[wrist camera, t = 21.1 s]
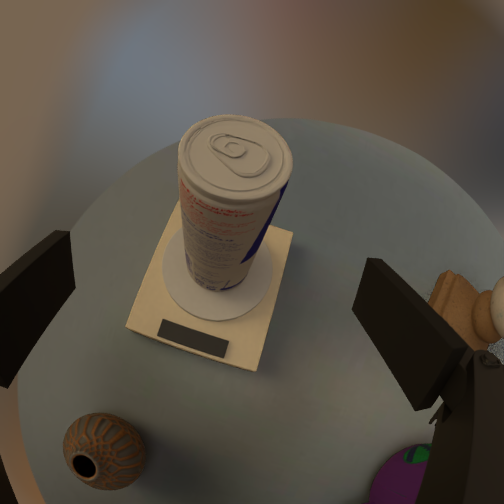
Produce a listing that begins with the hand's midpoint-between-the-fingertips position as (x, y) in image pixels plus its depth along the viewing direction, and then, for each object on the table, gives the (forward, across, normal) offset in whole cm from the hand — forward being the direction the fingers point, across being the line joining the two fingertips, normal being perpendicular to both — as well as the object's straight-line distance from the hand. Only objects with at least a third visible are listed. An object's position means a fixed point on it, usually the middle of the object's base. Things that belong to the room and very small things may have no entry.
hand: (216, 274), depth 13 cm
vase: (+4, -8, -21) cm, 22 cm away
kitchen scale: (+15, 0, -9) cm, 17 cm away
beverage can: (+14, 0, -6) cm, 15 cm away
